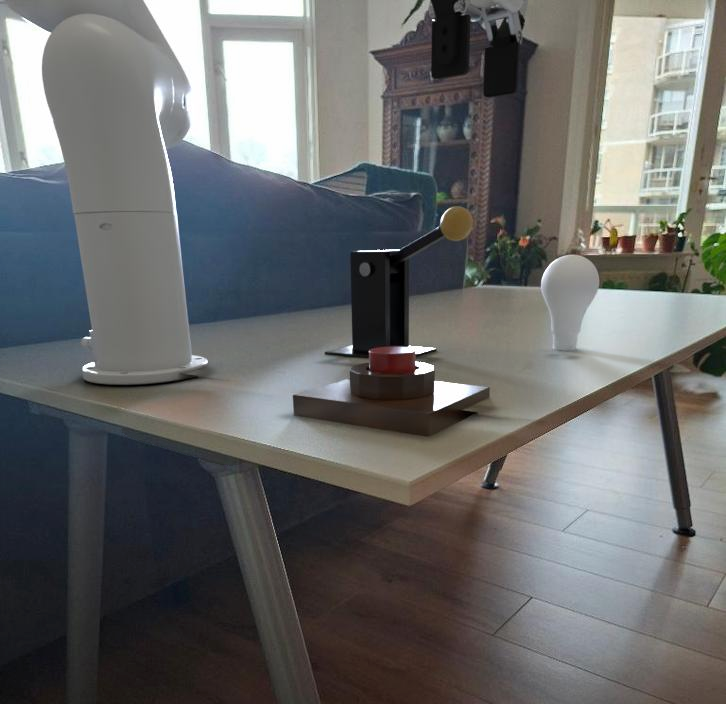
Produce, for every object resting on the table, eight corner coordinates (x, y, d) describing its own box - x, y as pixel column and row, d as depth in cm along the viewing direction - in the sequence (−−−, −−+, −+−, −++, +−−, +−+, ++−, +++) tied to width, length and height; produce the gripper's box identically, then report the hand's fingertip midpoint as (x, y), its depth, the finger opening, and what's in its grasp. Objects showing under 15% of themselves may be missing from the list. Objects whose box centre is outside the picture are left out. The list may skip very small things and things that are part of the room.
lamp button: (360, 374, 51) (359, 351, 51) (385, 367, 54) (385, 345, 53) (400, 378, 49) (400, 355, 49) (424, 371, 52) (424, 348, 51)
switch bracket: (436, 358, 76) (438, 249, 72) (400, 370, 70) (400, 251, 66) (364, 352, 81) (362, 250, 77) (324, 362, 75) (320, 251, 71)
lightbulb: (549, 350, 80) (557, 254, 76) (600, 355, 76) (610, 253, 72) (526, 357, 75) (533, 255, 72) (578, 363, 72) (588, 255, 68)
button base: (293, 416, 52) (291, 371, 51) (365, 392, 60) (364, 353, 59) (428, 437, 46) (429, 387, 44) (489, 408, 53) (491, 364, 52)
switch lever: (482, 231, 66) (471, 200, 66) (468, 231, 64) (456, 199, 64) (383, 286, 74) (373, 259, 74) (367, 288, 72) (356, 260, 72)
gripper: (488, -106, 61) (480, 106, 67) (384, -200, 48) (385, 75, 53) (569, -132, 57) (553, 96, 63) (480, -243, 44) (470, 60, 49)
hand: (476, 86), depth 58 cm, fingers open, 9 cm apart
